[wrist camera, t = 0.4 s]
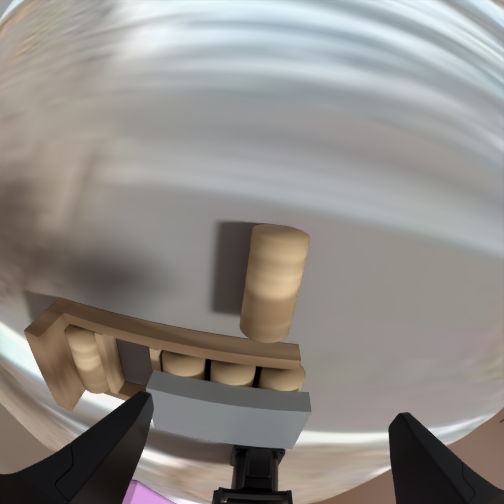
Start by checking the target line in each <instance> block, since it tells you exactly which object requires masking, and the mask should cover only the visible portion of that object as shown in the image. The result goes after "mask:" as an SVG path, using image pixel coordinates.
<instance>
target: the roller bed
mask: <svg viewBox="0 0 504 504" xmlns="http://www.w3.org/2000/svg"><path fill="white" fill-rule="evenodd" d="M60 312H63V313H64V316H65V320H66V322H67V323H70V324H69V325H68V326H67V327H66V329H65V334H66V338H67V341H68V344H69V347H70V351H71V354H72V356H73V359H74V362H75V365H76V368H77V371H78V373H79V376H80V378H81V381H82V384H83V386H84V388H85V389H86V390H87V391H89V392H91V393H96V394H99V393H105V394H108V395H110V396H113V397H116V398H119V399H122V400H125V401H127V400H128V399H129V398H130V397H132V396H133V395H134V394H136V393H137V392H138V391H140V390H142V391H146V386H143V385H139V384H136V383H132V382H129V381H126V380H125V378H124V374H123V370H122V365H121V361H120V356H119V352H118V347H117V342H116V338H118V339H122V340H125V341H129V342H133V343H137V344H141V345H145V346H149V347H150V348H149V350H150V358H151V366H152V373H153V371H154V370H157V371H161V372H165V373H169V374H174V375H178V376H183V377H188V378H193V379H198V380H204V381H205V359H212V361H211V375H210V382H215V383H221V384H228V385H235V386H242V387H250V388H252V384H253V379H254V374H255V369H256V366H262V371H261V375H260V379H259V384H258V388H259V389H269V390H280V391H293V392H299V391H300V389H301V386H302V384H303V381H304V378H305V370H304V368H303V366H302V365H301V364H300V362H301V358H300V350H299V345H297V344H286V343H277V342H275V343H262V342H258V341H255V340H252V339H245V338H238V337H231V336H224V335H218V334H212V333H206V332H200V331H195V330H189V329H184V328H179V327H174V326H169V325H164V324H159V323H154V322H150V321H145V320H141V319H137V318H132V317H128V316H124V315H120V314H116V313H112V312H108V311H105V310H101V309H97V308H94V307H90V306H87V305H83V304H80V303H76V302H73V301H71V302H70V303H68V304H67V305H66V306H65V307H64V308H63V309H62V310H61V311H60Z"/></svg>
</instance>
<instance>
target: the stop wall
mask: <svg viewBox="0 0 504 504" xmlns="http://www.w3.org/2000/svg"><path fill="white" fill-rule="evenodd" d="M70 302H71V301H70V300H66V299H63V298H59V299H58V300H57V301H56V302H55V303H54V304H52V305H51V306H50V307H49V308H48V309H47V310H46V311H45V312H43V313H42V314H41V315H40V316H39V317H38V318H37V319H36V320H35V321H34V322H32V323H31V324H30V325H29V326H28V327H27V328H26V329H25V330H24V332H25V335H26V338H27V341H28V343H29V346H30V348H31V351H32V353H33V356H34V358H35V360H36V363H37V365H38V367H39V369H40V371H41V374H42V376H43V378H44V380H45V382H46V384H47V386H48V388H49V390H50V392H51V394H52V396H53V397H54V399H55V401H56V403H57V405H59V406H61V407H63V408H65V409H67V410H69V411H71V412H72V410H73V409H74V407H75V405H76V404H77V402H78V401H79V399H80V397H81V396H82V394H83V393H84V391H85V390H86V389H85V388H84V386H83V384H82V381H81V378H80V376H79V373H78V371H77V368H76V365H75V362H74V359H73V356H72V354H71V351H70V347H69V344H68V341H67V338H66V334H65V329H66V327H67V326H68V325H69V324H70V323H67V322H66V320H65V316H64V313H63V312H60V311H61V310H62V309H63V308H64V307H65V306H66V305H67V304H68V303H70Z"/></svg>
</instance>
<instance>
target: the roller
mask: <svg viewBox="0 0 504 504" xmlns="http://www.w3.org/2000/svg"><path fill="white" fill-rule="evenodd" d="M309 241H310V236H309V235H308V234H307V233H305V232H303V231H301V230H299V229H296V228H293V227H288V226H281V225H275V224H259V225H256V226H254V227H253V229H252V236H251V244H250V251H249V258H248V266H247V273H246V281H245V288H244V296H243V303H242V311H241V318H240V329H241V331H242V333H243V334H244V335H246V336H247V337H248V338H250V339H252V340H255V341H258V342H262V343H275V342H279V341H281V340H283V339H285V338H286V337H287V335H288V333H289V329H290V325H291V321H292V317H293V313H294V308H295V304H296V300H297V296H298V292H299V287H300V283H301V278H302V274H303V269H304V265H305V260H306V255H307V250H308V246H309Z"/></svg>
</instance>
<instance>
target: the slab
mask: <svg viewBox="0 0 504 504" xmlns="http://www.w3.org/2000/svg"><path fill="white" fill-rule="evenodd" d="M146 392H149V393H151V394H152V399H153V404H154V412H153V416H152V419H153V423H154V427H155V429H159V430H162V431H166V432H170V433H175V434H179V435H183V436H188V437H193V438H198V439H203V440H209V441H215V442H222V443H228V444H236V445H245V446H255V447H267V448H286V449H292V448H293V446H294V444H295V443H296V441H297V439H298V437H299V435H300V433H301V431H302V429H303V427H304V426H305V424H306V422H307V420H308V418H309V416H310V414H311V405H310V398H309V392H293V391H280V390H269V389H259V388H250V387H242V386H235V385H228V384H221V383H215V382H209V381H204V380H198V379H193V378H188V377H183V376H178V375H174V374H169V373H165V372H161V371H157V370H154V371H153V373H152V375H151V377H150V379H149V381H148V384H147V386H146Z"/></svg>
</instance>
